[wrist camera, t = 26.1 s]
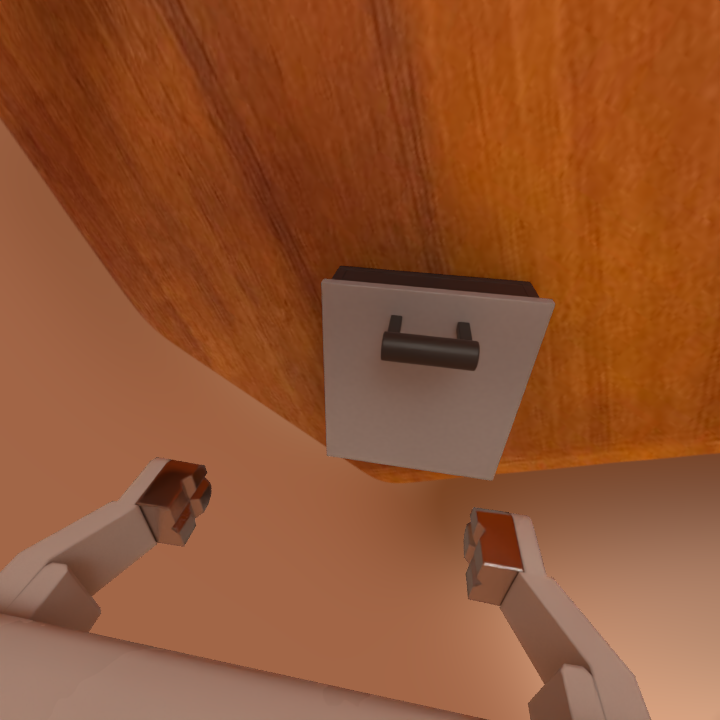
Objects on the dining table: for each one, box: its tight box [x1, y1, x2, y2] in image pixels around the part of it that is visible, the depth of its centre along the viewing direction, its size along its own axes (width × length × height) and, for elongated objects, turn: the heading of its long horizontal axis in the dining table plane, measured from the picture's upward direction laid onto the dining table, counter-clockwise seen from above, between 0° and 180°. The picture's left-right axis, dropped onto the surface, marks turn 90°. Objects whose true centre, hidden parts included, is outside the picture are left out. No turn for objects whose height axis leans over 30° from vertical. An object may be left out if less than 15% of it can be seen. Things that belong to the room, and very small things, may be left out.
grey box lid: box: [321, 279, 555, 480], centre depth 24 cm, size 15×13×5 cm
